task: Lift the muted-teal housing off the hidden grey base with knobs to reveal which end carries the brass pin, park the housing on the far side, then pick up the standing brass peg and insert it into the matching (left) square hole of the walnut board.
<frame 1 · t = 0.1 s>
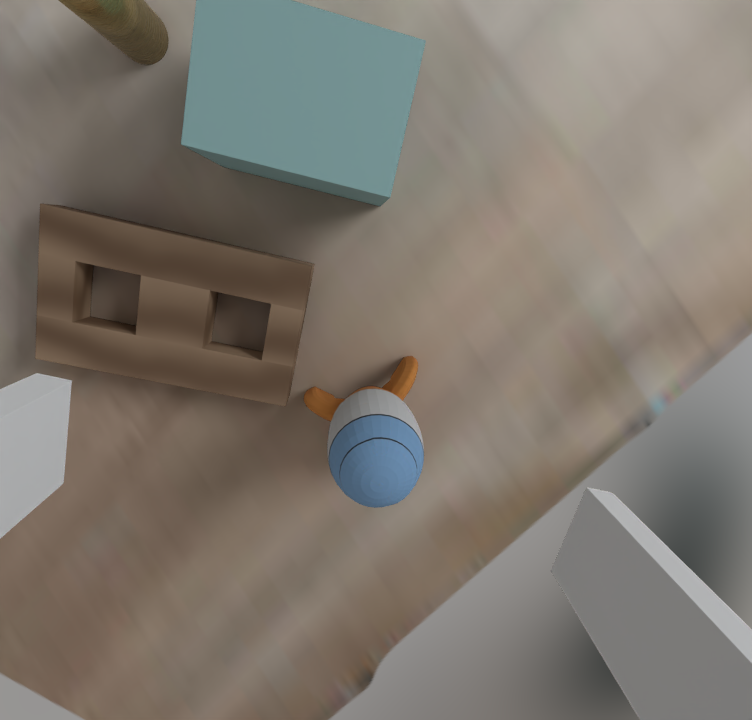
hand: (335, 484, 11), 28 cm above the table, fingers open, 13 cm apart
peg: (143, 36, 32), on the table
toy rocket: (380, 391, 40), on the table
housing: (313, 129, 34), on the table
board: (183, 307, 37), on the table
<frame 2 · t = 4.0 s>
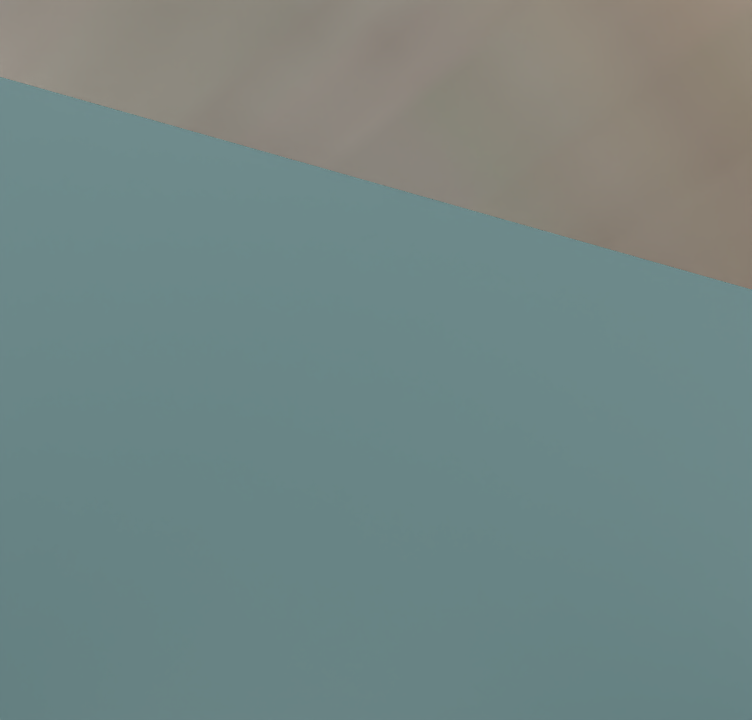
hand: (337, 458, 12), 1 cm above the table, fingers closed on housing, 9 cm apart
housing: (337, 453, 13), on the table, touching gripper
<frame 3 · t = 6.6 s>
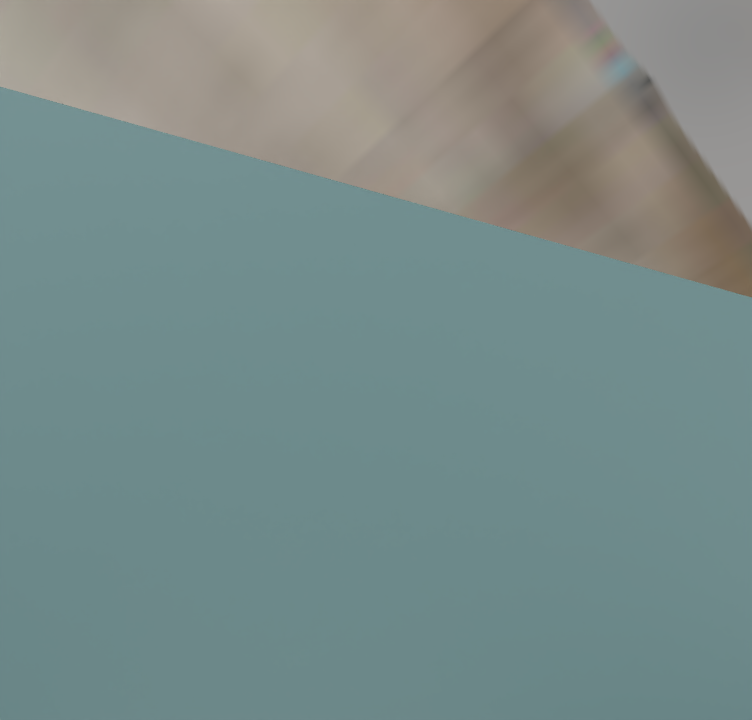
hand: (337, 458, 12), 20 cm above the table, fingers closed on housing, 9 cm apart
housing: (337, 455, 13), point 19 cm above the table, touching gripper
when the fingers open (1 cm above the table, at t = 9.2 s): housing drops 1 cm, on the table.
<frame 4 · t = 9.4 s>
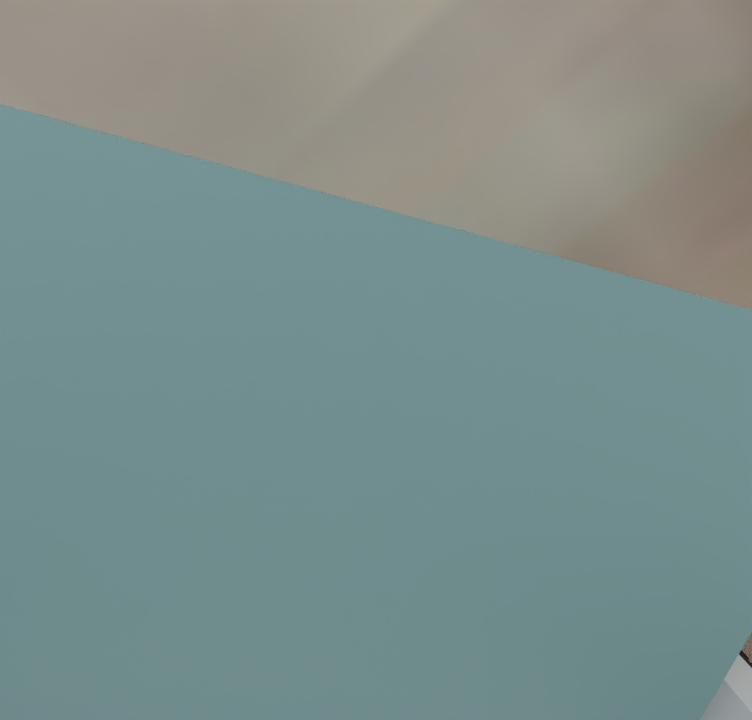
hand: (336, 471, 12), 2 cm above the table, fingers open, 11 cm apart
housing: (335, 437, 14), on the table
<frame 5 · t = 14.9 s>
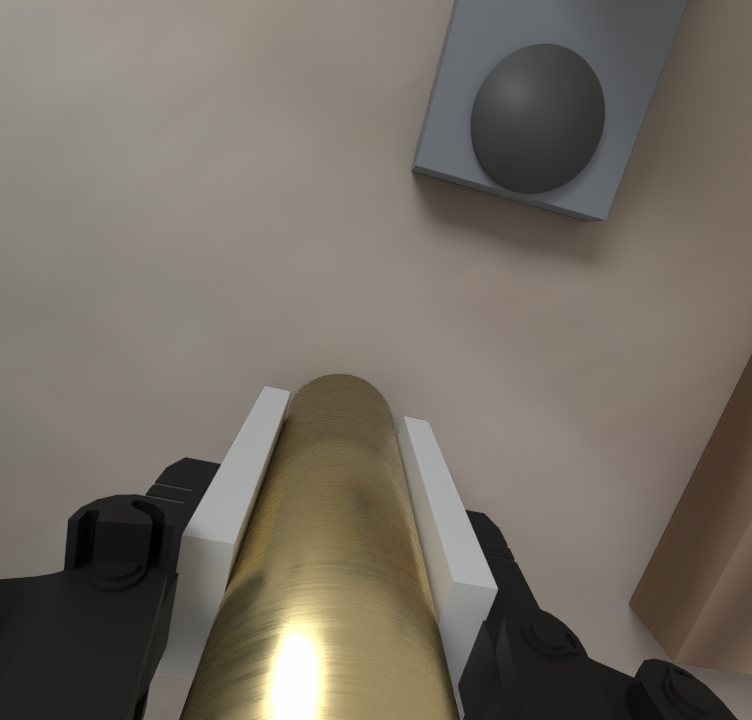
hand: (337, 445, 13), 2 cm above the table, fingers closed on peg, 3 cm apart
peg: (339, 423, 15), on the table, touching gripper
grey base with knobs: (558, 12, 12), on the table
when the fingers open (3 cm above the table, at t = 21.0 s): peg drops 2 cm, resting in board.
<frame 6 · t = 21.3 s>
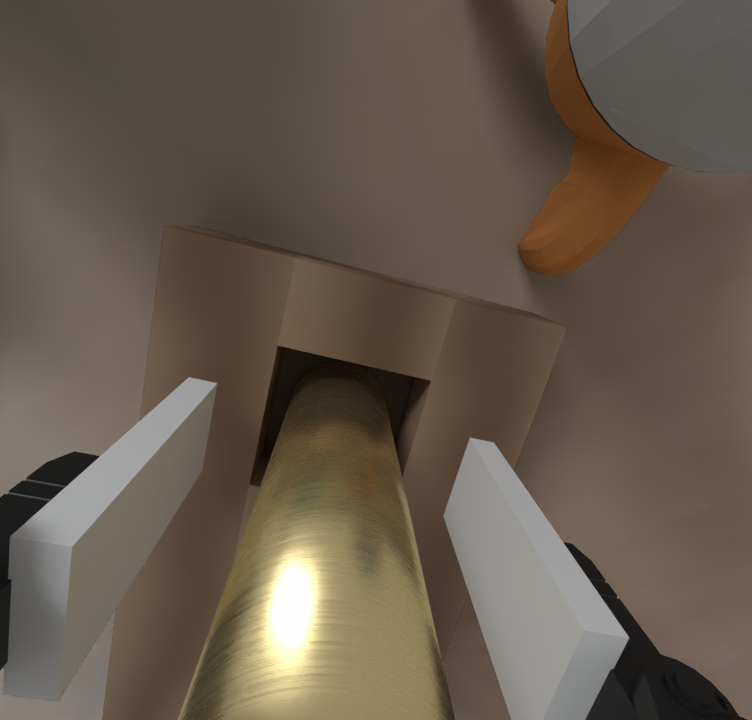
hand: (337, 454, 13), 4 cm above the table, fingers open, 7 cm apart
peg: (338, 406, 16), resting in board
toy rocket: (558, 51, 14), on the table
board: (311, 518, 18), on the table
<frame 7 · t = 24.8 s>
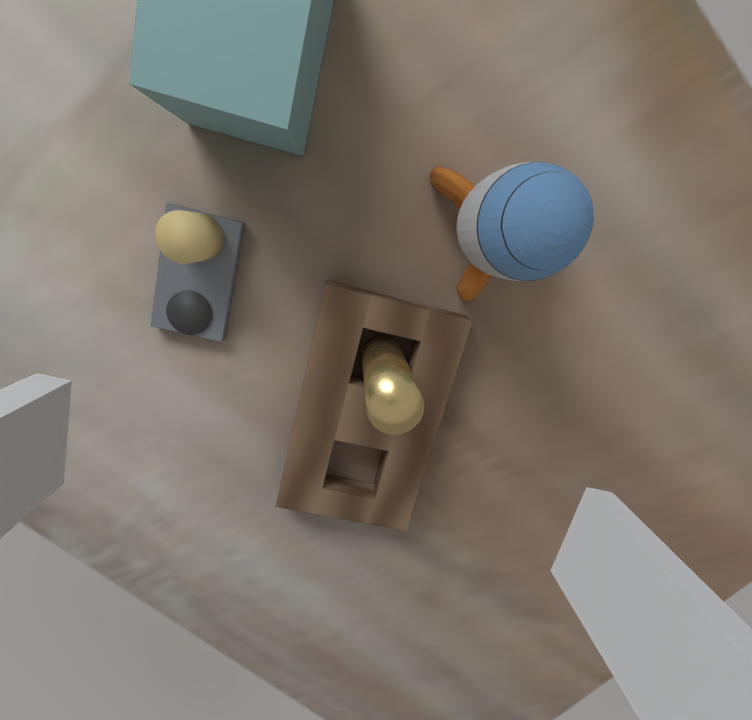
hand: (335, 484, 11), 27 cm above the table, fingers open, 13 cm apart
peg: (381, 355, 38), resting in board
grey base with knobs: (199, 274, 35), on the table
toy rocket: (470, 213, 35), on the table
housing: (261, 46, 31), on the table
board: (368, 407, 39), on the table
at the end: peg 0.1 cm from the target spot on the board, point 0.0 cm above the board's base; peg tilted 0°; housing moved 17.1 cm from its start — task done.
